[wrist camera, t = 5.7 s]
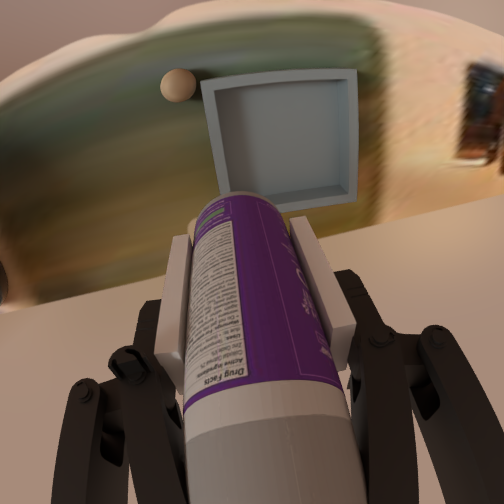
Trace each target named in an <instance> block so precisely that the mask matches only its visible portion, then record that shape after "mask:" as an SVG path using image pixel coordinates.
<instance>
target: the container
mask: <svg viewBox="0 0 504 504" xmlns="http://www.w3.org/2000/svg"><path fill="white" fill-rule="evenodd" d="M183 432H184V460H185V479H186V490H187V497H188V503H189V504H368V498H367V486H366V479H365V472H364V467H363V463H362V459H361V455H360V451H359V447H358V443H357V439H356V436H355V432H354V428H353V424H352V420H351V417H350V413H349V409H348V405H347V402H346V398H345V394H344V391H343V388H342V385H341V382H340V379H339V375H338V372H337V369H336V366H335V363H334V360H333V357H332V354H331V351H330V348H329V345H328V342H327V339H326V336H325V333H324V330H323V327H322V325H321V322H320V319H319V316H318V313H317V310H316V307H315V305H314V302H313V299H312V296H311V293H310V291H309V288H308V285H307V282H306V279H305V277H304V274H303V271H302V269H301V266H300V263H299V260H298V258H297V255H296V252H295V250H294V247H293V244H292V242H291V239H290V236H289V234H288V231H287V229H286V226H285V223H284V221H283V218H282V216H281V214H280V212H279V210H278V209H277V207H276V206H275V205H274V204H273V203H272V202H271V201H270V200H269V199H267V198H265V197H264V196H262V195H259V194H257V193H253V192H248V191H235V192H229V193H226V194H223V195H220V196H218V197H216V198H214V199H213V200H211V201H210V202H209V203H208V204H207V205H206V206H205V207H204V208H203V209H202V211H201V212H200V214H199V216H198V218H197V221H196V226H195V232H194V241H193V251H192V261H191V272H190V284H189V297H188V310H187V326H186V343H185V363H184V391H183Z"/></svg>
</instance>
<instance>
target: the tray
mask: <svg viewBox="0 0 504 504" xmlns="http://www.w3.org/2000/svg"><path fill="white" fill-rule="evenodd" d="M200 84H201V90H202V96H203V102H204V107H205V113H206V119H207V125H208V130H209V136H210V141H211V147H212V152H213V158H214V163H215V169H216V174H217V180H218V185H219V190H220V195H223V194H226V193H229V192H235V191H248V192H253V193H257V194H259V195H262V196H264V197H265V198H267V199H269V200H270V201H271V202H272V203H273V204H274V205H275V206H276V207H277V209H278V210H279V212H280V213H284V212H290V211H296V210H303V209H309V208H316V207H322V206H329V205H336V204H342V203H349V202H356V201H357V185H358V148H359V122H358V86H357V69H351V68H300V69H283V70H271V71H260V72H251V73H243V74H235V75H228V76H222V77H216V78H210V79H204V80H201V81H200Z"/></svg>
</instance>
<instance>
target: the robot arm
mask: <svg viewBox="0 0 504 504" xmlns="http://www.w3.org/2000/svg"><path fill="white" fill-rule="evenodd" d="M289 220H290V239H291V242H292V244H293V247H294V250H295V252H296V255H297V258H298V260H299V263H300V266H301V269H302V271H303V274H304V277H305V279H306V282H307V285H308V288H309V291H310V293H311V296H312V299H313V302H314V305H315V307H316V310H317V313H318V316H319V319H320V322H321V325H322V327H323V330H324V333H325V336H326V339H327V342H328V345H329V348H330V351H331V354H332V357H333V360H334V363H335V366H336V369H337V372H338V371H343V370H346V367H347V363H348V364H349V367H350V370H351V375H350V378H349V382H348V385H347V389H350V395H351V420H352V424H353V428H354V432H355V436H356V439H357V443H358V447H359V451H360V455H361V459H362V463H363V467H364V472H365V479H366V486H367V498H368V504H419V487H418V468H417V467H418V466H417V453H416V442H415V432H414V424H413V416H412V410H413V413H414V415H415V418H416V420H417V422H418V425H419V427H420V430H421V433H422V435H423V438H424V441H425V443H426V446H427V449H428V452H429V454H430V457H431V460H432V463H433V466H434V469H435V471H436V474H437V477H438V480H439V483H440V486H441V489H442V493H443V496H444V499H445V503H446V504H504V432H503V429H502V427H501V425H500V423H499V421H498V418H497V416H496V414H495V412H494V410H493V408H492V406H491V404H490V402H489V400H488V398H487V396H486V394H485V392H484V390H483V388H482V386H481V384H480V382H479V380H478V378H477V377H476V375H475V373H474V371H473V369H472V367H471V365H470V364H469V362H468V360H467V358H466V357H465V355H464V353H463V351H462V350H461V348H460V346H459V345H458V343H457V341H456V340H455V338H454V337H453V335H452V333H450V331H449V330H448V329H446V328H445V327H443V326H439V325H430V326H428V327H426V328H425V329H424V330H423V331H422V333H421V334H419V335H418V334H400V333H397V332H396V331H394V329H392V328H391V327H389V326H387V325H385V324H384V322H383V321H382V319H381V317H380V315H379V313H378V311H377V309H376V307H375V305H374V303H373V301H372V299H371V298H370V296H369V295H368V292H367V290H366V288H364V285H363V283H362V281H361V279H360V277H359V276H358V275H357V274H355V273H354V272H353V271H352V270H350V269H348V270H342V271H337V272H333V271H332V269H331V267H330V265H329V262H328V261H327V259H326V256H325V254H324V252H323V250H322V248H321V246H320V244H319V242H318V240H317V238H316V236H315V234H314V232H313V230H312V228H311V226H310V224H309V222H308V220H307V218H306V216H302V217H295V218H289ZM192 251H193V247H192V243H191V239H190V235H189V234H184V235H178V236H173V241H172V245H171V251H170V256H169V261H168V266H167V272H166V278H165V283H164V289H163V295H162V299H160V300H151V301H146V303H145V304H144V305H143V307H142V308H141V310H140V312H139V317H138V323H137V327H136V332H135V337H134V343H133V345H130V346H124V347H122V348H119V349H118V350H117V351H115V352H114V353H113V354H112V356H111V358H110V359H109V362H108V367H109V369H110V370H111V371H112V372H113V374H114V375H115V376H116V378H114V379H112V380H109V381H106V382H103V383H100V384H98V383H97V382H96V381H95V380H93V379H90V378H85V379H81V380H79V381H78V382H76V383H75V384H74V385H73V386H72V388H71V390H70V393H69V397H68V401H67V406H66V410H65V414H64V419H63V424H62V429H61V434H60V439H59V445H58V451H57V457H56V464H55V471H54V478H53V487H52V497H51V504H127V503H128V477H129V463H130V469H131V474H132V478H133V484H134V488H135V493H136V497H137V501H138V504H189V503H188V497H187V490H186V479H185V460H184V432H183V420H182V415H181V411H180V408H179V404H178V402H177V400H176V399H175V392H176V389H177V391H178V393H179V394H180V395H183V391H184V363H185V343H186V326H187V310H188V297H189V284H190V272H191V261H192ZM7 291H8V283H7V278H6V274H5V272H4V269H3V267H2V265H1V263H0V306H1V304H2V303H3V301H4V299H5V297H6V295H7Z"/></svg>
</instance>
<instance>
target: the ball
mask: <svg viewBox="0 0 504 504" xmlns="http://www.w3.org/2000/svg"><path fill="white" fill-rule="evenodd" d="M160 88H161V92H162V94H163V96H164V97H165V98H166V99H168V100H169V101H172V102H183V101H185V100H187V99H189V98H190V97H191V96H192V95H193V94H194V92H195V89H196V79H195V77H194V75H193V74H192V73H191V72H189V71H188V70H185V69H174V70H171V71H169V72H168V73H167V74H166V75H165V76H164V77H163V79H162V81H161V86H160Z"/></svg>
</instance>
